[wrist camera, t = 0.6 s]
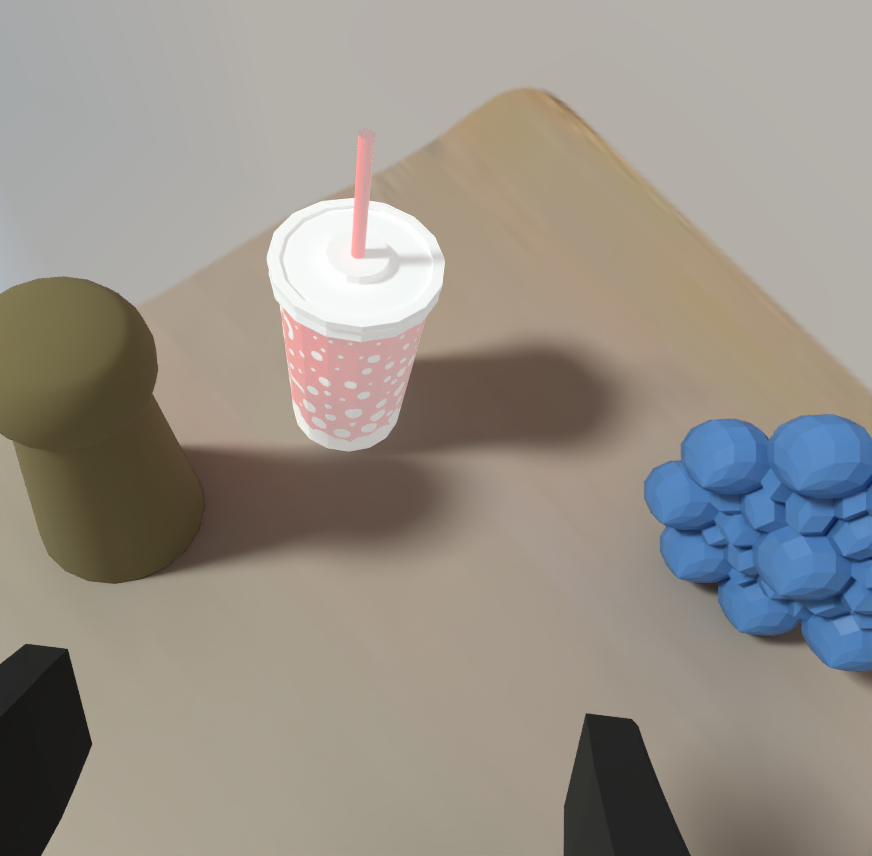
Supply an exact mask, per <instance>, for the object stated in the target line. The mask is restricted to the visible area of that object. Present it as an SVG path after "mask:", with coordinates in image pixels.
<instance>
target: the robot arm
mask: <svg viewBox="0 0 872 856" xmlns="http://www.w3.org/2000/svg"><path fill="white" fill-rule="evenodd" d="M91 746H92V741H91V737H90V734H89V730H88V726H87V722H86V718H85V714H84V710H83V706H82V703H81V699H80V695H79V691H78V687H77V683H76V679H75V675H74V671H73V668H72V664H71V660H70V656H69V652H68V649H64V648H56V647H48V646H40V645H32V644H25V645H24V646H23V647H21V648H20V649H19V650H17V651H16V652H15V653H14V654H12V655H11V656H10V657H9V658H7V659H6V660H5V661H3V662H2V663H1V664H0V856H41V855H42V853H43V851H44V849H45V848H46V846H47V844H48V842H49V840H50V838H51V837H52V835H53V833H54V831H55V829H56V827H57V826H58V824H59V822H60V820H61V818H62V816H63V814H64V811H65V809H66V807H67V804H68V802H69V800H70V797H71V795H72V793H73V791H74V788H75V786H76V784H77V781H78V779H79V776H80V774H81V771H82V769H83V766H84V764H85V761H86V759H87V756H88V754H89V751H90V749H91ZM564 856H691V855H690V853H689V851H688V849H687V847H686V845H685V842H684V840H683V838H682V836H681V833H680V831H679V829H678V827H677V824H676V822H675V820H674V817H673V815H672V813H671V810H670V808H669V806H668V803H667V801H666V799H665V796H664V794H663V791H662V789H661V787H660V784H659V782H658V779H657V777H656V774H655V771H654V769H653V766H652V764H651V761H650V758H649V756H648V753H647V750H646V747H645V745H644V742H643V739H642V736H641V733H640V730H639V727H638V725H637V724H636V723H635V722H634V721H633V720H632V719H627V718H619V717H611V716H603V715H595V714H587V713H586V715H585V719H584V724H583V728H582V732H581V737H580V741H579V745H578V749H577V754H576V758H575V762H574V766H573V771H572V775H571V779H570V784H569V788H568V792H567V796H566V801H565V805H564Z"/></svg>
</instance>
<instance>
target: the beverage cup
mask: <svg viewBox="0 0 872 856" xmlns="http://www.w3.org/2000/svg"><path fill="white" fill-rule="evenodd" d="M374 138H375V134H374V132H372V131H371V130H367V129H363V130H361V131H360V132H359V136H358V152H357V167H356V183H355V198H350V199H340V200H330V201H321V202H318V203H316V204H314V205H311V206H309V207H307V208H304V209H302V210H300V211H297V212H295V213H293V214H292V215H291V216H290V217H289V218H288V219H287V220H286V221H285V222H284V223H283V224H282V225H281V226H280V227H279V228H278V229H277V230H276V231H275V232H274V234H273V237H272V241H271V244H270V248H269V251H268V254H267V264H268V268H269V277H270V281H271V284H272V288H273V292H274V296H275V299H276V300H277V301H278V302H279V303H280V310H281V317H282V325H283V333H284V340H285V348H286V355H287V363H288V371H289V378H290V386H291V393H292V401H293V408H294V412H295V416H296V420H297V424H298V425H299V426H300V428H301V429H302V430H303V431H304V432H305V434H306V435H307V436H308V437H309V438H310V439H311V440H313V441H315V442H317V443H319V444H321V445H322V446H324V447H326V448H328V449H335V450H342V451H348V452H350V451H355V450H360V449H366V448H370V447H372V446H373V445H375V444H377V443H378V442H380V441H382V440H383V439H385V438H386V437H387V436H388V434H389V433H390V432H391V430H392V429H393V427H394V426H395V424H396V423H397V420H398V416H399V412H400V409H401V405H402V402H403V398H404V395H405V391H406V388H407V384H408V381H409V377H410V373H411V370H412V366H413V363H414V359H415V356H416V352H417V349H418V345H419V342H420V338H421V334H422V331H423V327H424V324H425V320H426V317H427V315H428V314H429V312H430V311H431V310H432V308H433V307H434V306H435V304H436V303H437V302H438V298H439V293H440V292H441V288H442V282H443V274H444V265H445V259H444V257H443V255H442V252H441V250H440V248H439V245H438V243H437V240H436V238H435V236H434V235H433V234H431V233H430V232H429V231H428V230H427V229H426V228H425V227H424V226H423V225H422V224H421V223H420V222H419V221H418V220H417V219H416V218H415V217H413V216H411V215H409V214H407V213H405V212H402V211H400V210H398V209H396V208H394V207H392V206H390V205H388V204H385V203H379V202H373V201H369V198H370V186H371V174H372V161H373V150H374Z"/></svg>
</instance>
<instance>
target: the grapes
mask: <svg viewBox="0 0 872 856" xmlns="http://www.w3.org/2000/svg"><path fill="white" fill-rule="evenodd" d="M644 499H645V501H646V503H647V505H648V508H649V510H650V512H651V513H652V514H653V516H654V517H655V518H656V519H657V520H658V521H659V522H660V523H662V524H664V525H666V528H665V529H664V531H663V532H662V533H661V535H660V552H661V554H662V556H663V558H664V561H665V563H666V565H667V566H668V567H669V569H670V570H671V571H672V572H673V573H674V575H675V576H676V577H677V578H679V579H682V580H686V581H690V582H695V583H716V582H719V581H721V580H722V581H721V582H720V584H719V585H718V602H719V604H720V606H721V608H722V610H723V612H724V614H725V616H726V618H727V619H728V620H729V621H730V622H731V623H732V624H733V626H734V627H735V628H736V629H737V630H738V631H739V632H743V633H747V634H752V635H757V636H777V635H780V634H783V633H786V632H789V631H792V630H794V629H795V628H796V627H797V626H798V625H799V623H800V622H801V625H802V634H803V636H804V638H805V640H806V642H807V644H808V646H809V647H810V649H811V650H812V651H813V652H814V654H815V655H816V656H817V657H818V658H819V659H820V660H821V661H822V662H823V663H825V664H826V665H827V666H828V667H830V668H834V669H839V670H844V671H870V670H872V438H871V437H870V435H869V434H868V433H867V431H866V430H865V428H863V427H862V426H860V425H858V424H856V423H855V422H853V421H851V420H849V419H846V418H843V417H840V416H836V415H833V414H827V415H807V416H799V417H797V418H795V419H793V420H790V421H788V422H786V423H784V424H782V425H780V426H779V427H778V428H777V429H776V431H775V432H774V434H773V435H772V436H771V438H770V439H768V437H767V436H766V435H765V434H764V433H763V432H762V431H761V430H760V429H758V428H757V427H755V426H754V425H753V424H751V423H748V422H745V421H741V420H738V419H719V420H708V421H706V422H704V423H702V424H700V425H698V426H696V427H694V428H692V429H691V430H690V431H689V433H688V434H687V436H686V437H685V439H684V440H683V442H682V443H681V461H668V462H666V463H664V464H662V465H660V466H658V467H656V468H653V470H652V471H651V473H650V474H649V476H648V477H647V479H646V480H645V482H644Z"/></svg>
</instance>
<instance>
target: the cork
mask: <svg viewBox="0 0 872 856" xmlns="http://www.w3.org/2000/svg"><path fill="white" fill-rule="evenodd" d="M157 372H158V365H157V355H156V347H155V343H154V338H153V335H152V333H151V332H150V330H149V328H148V327H147V325H146V323H145V321H144V320H143V318H142V316H141V315H140V313H139V312H138V311H137V309H136V308H135V307H134V306H133V305H132V304H130V303H129V302H128V301H127V300H126V299H124V298H123V297H122V296H120V295H119V294H118V293H116V292H114V291H113V290H111V289H109V288H107V287H104V286H102V285H99V284H97V283H94V282H92V281H89V280H85V279H78V278H70V277H54V278H42V279H36V280H32V281H29V282H26V283H23V284H20V285H16V286H13V287H11V288H10V289H8V290H6V291H5V292H3V293H1V294H0V433H1V434H2V435H3V436H5V437H6V438H8V439H10V440H13V443H14V447H15V450H16V454H17V457H18V461H19V464H20V467H21V471H22V474H23V478H24V481H25V485H26V488H27V491H28V495H29V498H30V502H31V505H32V509H33V512H34V515H35V519H36V522H37V526H38V529H39V533H40V536H41V538H42V540H43V543H44V545H45V547H46V550H47V552H48V554H49V556H50V557H52V558H53V559H54V560H55V561H56V562H57V563H58V564H59V565H60V566H61V567H62V568H63V569H64V570H65V571H67V572H69V573H71V574H74V575H76V576H78V577H80V578H83V579H85V580H87V581H94V582H105V583H120V582H126V581H131V580H137V579H142V578H144V577H146V576H148V575H150V574H152V573H154V572H157V571H159V570H161V569H163V568H165V567H167V566H168V565H169V564H170V563H171V562H173V561H174V560H175V559H176V558H177V557H178V556H179V555H181V554H182V553H183V552H184V551H185V550H186V549H187V548H188V546H189V544H190V543H191V541H192V540H193V538H194V536H195V535H196V533H197V532H198V530H199V528H200V524H201V519H202V515H203V511H204V500H203V493H202V486H201V484H200V482H199V481H198V479H197V477H196V475H195V473H194V471H193V469H192V467H191V466H190V464H189V462H188V460H187V458H186V456H185V454H184V452H183V450H182V449H181V447H180V445H179V443H178V441H177V439H176V437H175V435H174V434H173V432H172V430H171V428H170V426H169V424H168V422H167V420H166V419H165V417H164V415H163V413H162V411H161V409H160V407H159V405H158V403H157V402H156V400H155V398H154V396H153V394H152V393H153V389H154V386H155V383H156V378H157Z"/></svg>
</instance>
